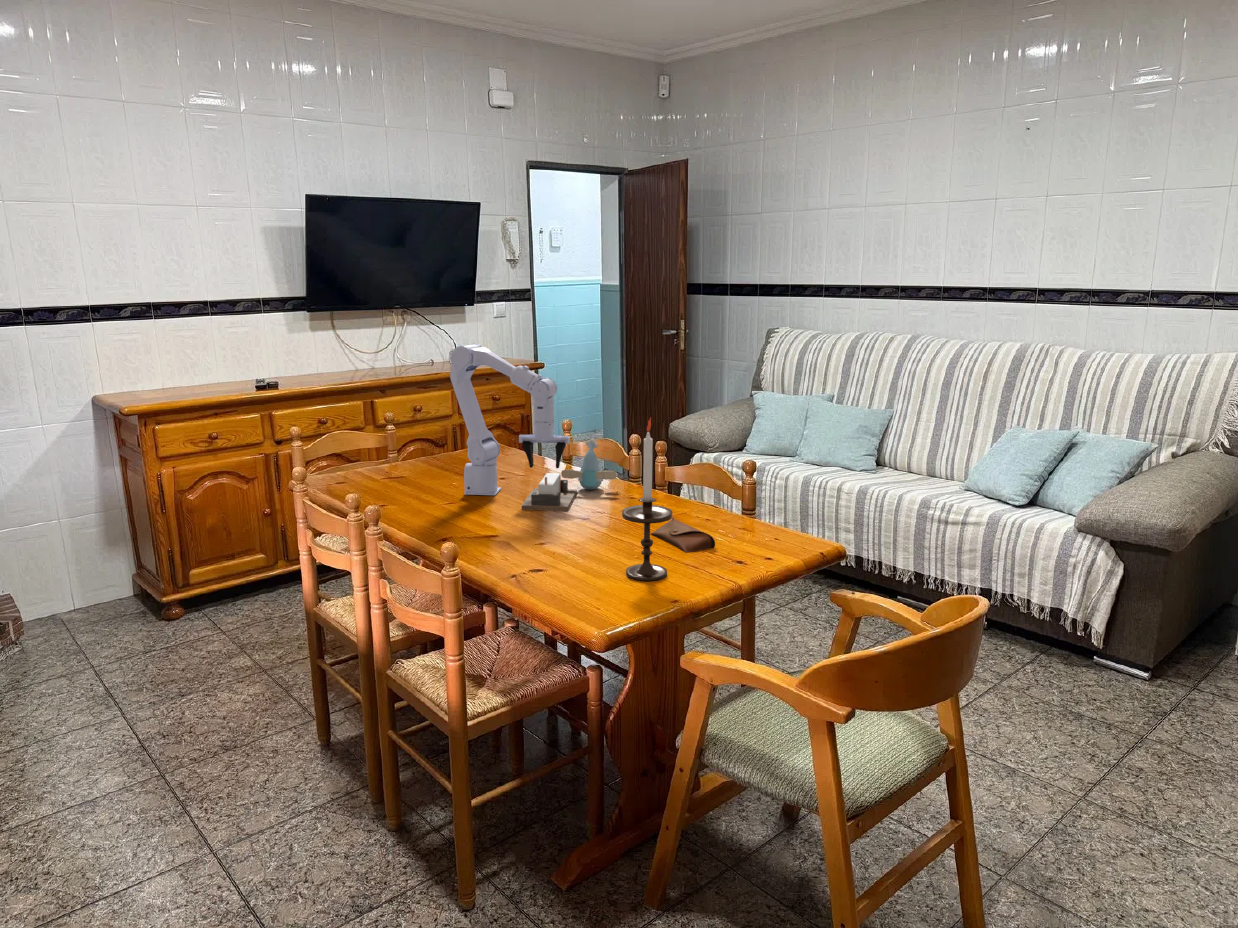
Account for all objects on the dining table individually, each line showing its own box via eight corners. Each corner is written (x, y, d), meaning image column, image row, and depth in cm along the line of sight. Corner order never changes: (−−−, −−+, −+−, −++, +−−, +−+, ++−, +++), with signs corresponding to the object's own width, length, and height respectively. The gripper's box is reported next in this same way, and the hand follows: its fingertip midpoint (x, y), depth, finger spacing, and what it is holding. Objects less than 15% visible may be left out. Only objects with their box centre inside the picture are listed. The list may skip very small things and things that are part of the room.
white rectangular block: (553, 504, 240) (552, 478, 239) (538, 503, 241) (538, 477, 239) (560, 491, 254) (560, 466, 252) (546, 491, 254) (546, 466, 253)
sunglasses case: (646, 533, 218) (658, 509, 219) (666, 543, 222) (677, 519, 222) (687, 553, 203) (699, 528, 203) (707, 563, 207) (719, 538, 207)
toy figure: (619, 485, 266) (619, 438, 263) (616, 494, 256) (616, 445, 252) (566, 484, 268) (565, 437, 264) (560, 492, 257) (560, 443, 254)
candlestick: (647, 562, 197) (649, 411, 189) (681, 575, 189) (684, 418, 181) (611, 573, 190) (612, 417, 182) (645, 587, 182) (647, 424, 174)
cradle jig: (567, 510, 238) (567, 496, 237) (521, 509, 239) (521, 494, 238) (576, 493, 257) (576, 479, 256) (534, 492, 258) (533, 478, 257)
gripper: (516, 422, 243) (517, 469, 246) (567, 424, 242) (567, 471, 245) (521, 418, 250) (522, 464, 253) (570, 419, 248) (570, 465, 251)
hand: (544, 467), depth 249 cm, fingers open, 7 cm apart
